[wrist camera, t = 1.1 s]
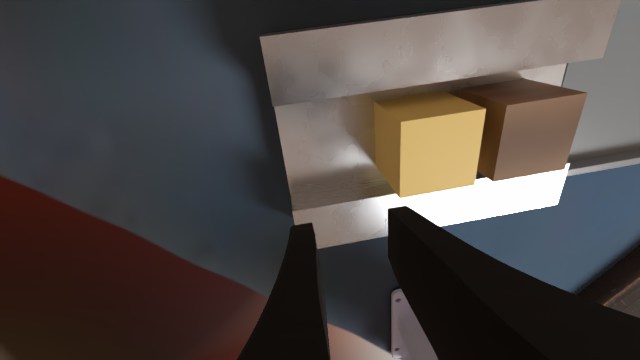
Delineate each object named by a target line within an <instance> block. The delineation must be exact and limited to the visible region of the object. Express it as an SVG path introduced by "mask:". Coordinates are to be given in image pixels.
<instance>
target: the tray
mask: <svg viewBox="0 0 640 360" xmlns="http://www.w3.org/2000/svg"><path fill="white" fill-rule="evenodd" d="M561 87H564V88H569V89H573V90H578V91H582V92H587V93H588V94H587V97H586V100H585V104H584V107H583V110H582V113H581V117H580V120H579V123H578V127H577V130H576V133H575V136H574V140H573V143H572V146H571V150H570V153H569V156H568V159H567V162H568V163H570V165H569V168H568V172H567V175H566V176H571V175H577V174H583V173H588V172H594V171H600V170H605V169H611V168H616V167H622V166H628V165H633V164H639V163H640V0H621V1H620V4H619V8H618V11H617V14H616V17H615V21H614V24H613V27H612V30H611V33H610V37H609V40H608V43H607V46H606V49H605V53H604V56H603V58H599V59H593V60H586V61H579V62H572V63H567V65H566V68H565V72H564V76H563V80H562V84H561Z"/></svg>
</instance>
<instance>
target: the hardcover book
mask: <svg viewBox="0 0 640 360" xmlns="http://www.w3.org/2000/svg"><path fill="white" fill-rule="evenodd" d="M577 296H580V297H583V298H585V299H588V300H590V301H593V302H595V303H598V304H601V305H604V306H607V307H609V308H612V309H615V310H618V311H621V312H623V313H627V314H630V315H633V316H636V317H639V318H640V246H639V247H637V248H636V249H635V250H634V251H632V252H631V253H630V254H629V255H627V256H626V257H625V258H624V259H622V260H621V261H620V262H619V263H617V264H616V265H615V266H613V267H612V268H611V269H610V270H608V271H607V272H606V273H605V274H603V275H602V276H601V277H600V278H598V279H597V280H596V281H595V282H593V283H592V284H591V285H589V286H588V287H587V288H586V289H584V290H583V291H582V292H581V293H579V294H578V295H577Z"/></svg>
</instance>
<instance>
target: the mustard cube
mask: <svg viewBox="0 0 640 360" xmlns="http://www.w3.org/2000/svg"><path fill="white" fill-rule="evenodd" d="M485 113H486V108H483V107H481V106H478V105H476V104H473V103H471V102H468V101H466V100H464V99H461V98H459V97H456V96H454V95H451V94H449V93H446V92H444V91H438V92H432V93H425V94H418V95H412V96H405V97H398V98H392V99H385V100H378V101H374V123H375V161H376V167H377V168H378V169H379V171H380V172H381V173H382V175H383V176H384V178H385V179H386V180H387V182H388V183H389V184H390V186H391V187H392V189H393V190H394V191H395V193H396V194H397V195H398V197H399V198H405V197H411V196H416V195H422V194H428V193H433V192H439V191H445V190H451V189H456V188H462V187H468V186H473V185H475V180H476V173H477V166H478V160H479V153H480V146H481V140H482V133H483V127H484V120H485Z"/></svg>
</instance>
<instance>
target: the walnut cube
mask: <svg viewBox="0 0 640 360" xmlns="http://www.w3.org/2000/svg"><path fill="white" fill-rule="evenodd" d="M587 94H588V93H587V92H582V91H578V90H573V89H569V88H564V87H560V86H556V85H551V84H547V83H542V82H538V81H533V80H529V79H518V80H511V81H505V82H498V83H491V84H485V85H478V86H471V87H465V88H459V94H458V97H459V98H461V99H464V100H466V101H468V102H471V103H473V104H476V105H478V106H481V107H483V108H486V113H485V120H484V127H483V133H482V140H481V146H480V153H479V160H478V166H477V171H478V172H480V173H481V174H483V175H484V176H485V177H487V178H488V179H489V180H491V181H492V182H496V181H502V180H507V179H513V178H519V177H524V176H530V175H536V174H541V173H547V172H553V171H558V170H564V169H565V166H566V163H567V159H568V156H569V153H570V150H571V146H572V143H573V140H574V136H575V133H576V130H577V127H578V123H579V120H580V117H581V113H582V110H583V107H584V104H585V100H586V97H587Z"/></svg>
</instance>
